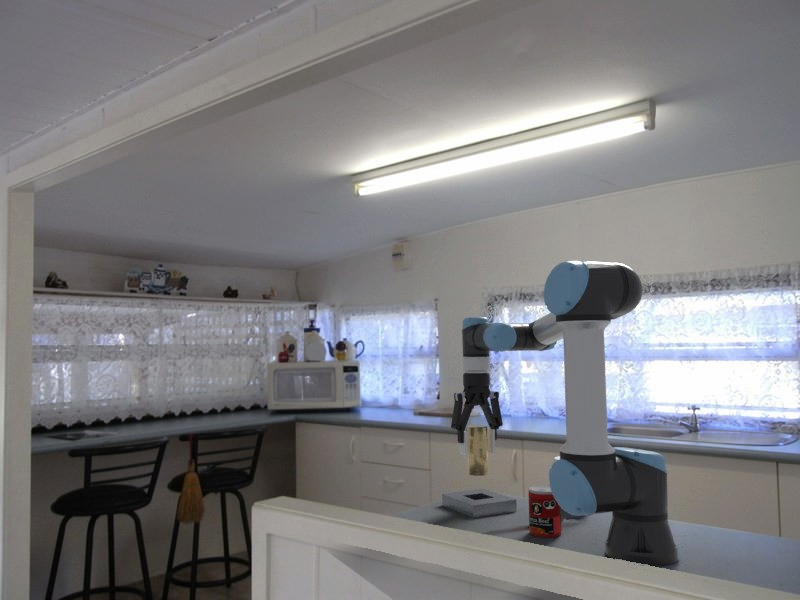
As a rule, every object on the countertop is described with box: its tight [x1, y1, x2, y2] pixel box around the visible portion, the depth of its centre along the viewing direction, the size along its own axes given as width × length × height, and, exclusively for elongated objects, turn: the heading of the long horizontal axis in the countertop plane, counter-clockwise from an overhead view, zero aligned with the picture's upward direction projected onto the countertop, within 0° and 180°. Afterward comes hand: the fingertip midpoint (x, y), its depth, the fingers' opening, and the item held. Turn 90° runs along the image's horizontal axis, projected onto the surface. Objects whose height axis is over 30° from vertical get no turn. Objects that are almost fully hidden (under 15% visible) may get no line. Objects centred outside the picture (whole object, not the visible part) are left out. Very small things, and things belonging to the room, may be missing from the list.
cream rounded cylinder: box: [466, 425, 489, 477], centre depth 190 cm, size 6×6×13 cm
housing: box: [441, 488, 518, 519], centre depth 189 cm, size 16×14×4 cm
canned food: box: [528, 484, 563, 539], centre depth 168 cm, size 8×8×11 cm
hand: (477, 453), depth 190 cm, fingers open, 8 cm apart
